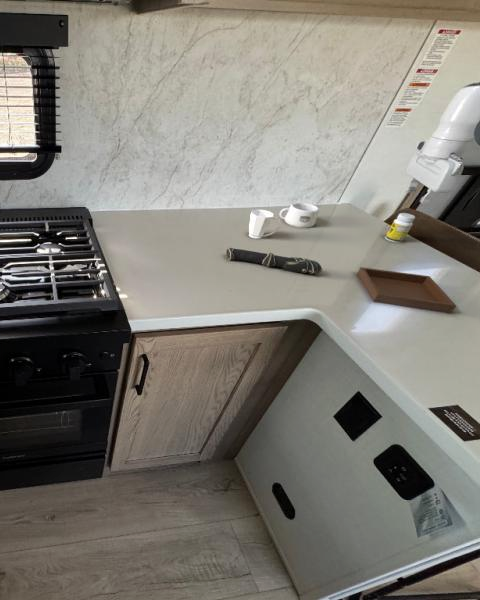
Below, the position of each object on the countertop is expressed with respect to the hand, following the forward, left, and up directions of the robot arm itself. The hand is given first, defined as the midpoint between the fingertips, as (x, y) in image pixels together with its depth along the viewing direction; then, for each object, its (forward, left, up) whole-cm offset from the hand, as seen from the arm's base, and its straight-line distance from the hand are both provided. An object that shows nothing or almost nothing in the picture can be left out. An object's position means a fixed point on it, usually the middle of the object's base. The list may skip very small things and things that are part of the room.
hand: (416, 197), depth 104 cm
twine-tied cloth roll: (+40, +30, -14) cm, 52 cm away
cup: (+41, +10, -14) cm, 44 cm away
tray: (+10, +35, -14) cm, 39 cm away
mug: (+28, -6, -14) cm, 32 cm away
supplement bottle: (0, 0, -14) cm, 14 cm away
